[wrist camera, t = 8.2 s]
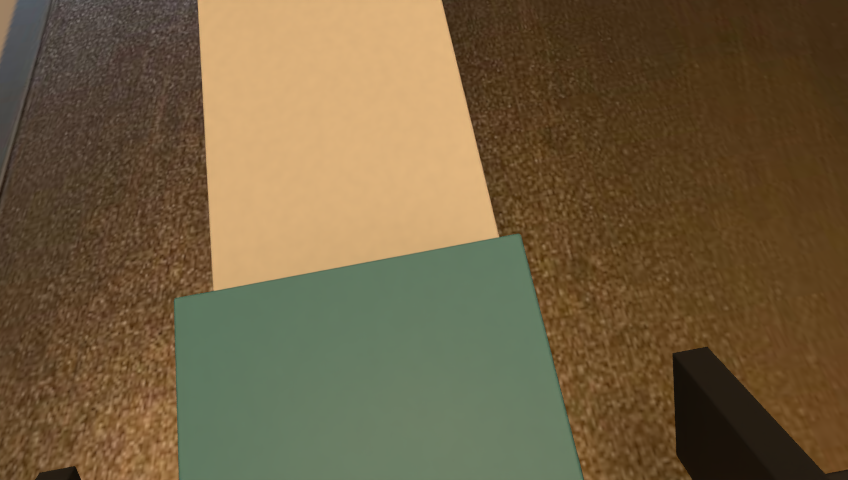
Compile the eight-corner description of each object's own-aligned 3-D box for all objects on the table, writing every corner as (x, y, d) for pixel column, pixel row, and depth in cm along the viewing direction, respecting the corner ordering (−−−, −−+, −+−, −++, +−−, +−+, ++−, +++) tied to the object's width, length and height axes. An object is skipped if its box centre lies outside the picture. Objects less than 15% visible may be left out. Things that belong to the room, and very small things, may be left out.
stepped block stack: (561, 565, 20) (624, 588, 12) (295, 617, 20) (171, 677, 12) (421, -33, 30) (402, -251, 21) (241, 0, 30) (152, -206, 21)
